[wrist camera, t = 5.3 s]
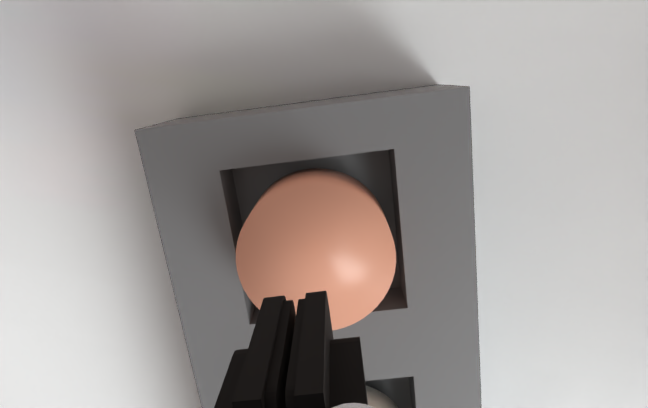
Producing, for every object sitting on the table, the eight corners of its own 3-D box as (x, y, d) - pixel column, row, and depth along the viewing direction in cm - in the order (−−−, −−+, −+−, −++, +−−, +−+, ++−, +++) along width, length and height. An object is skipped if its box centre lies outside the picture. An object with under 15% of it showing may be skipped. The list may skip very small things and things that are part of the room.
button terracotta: (380, 159, 18) (388, 173, 16) (393, 291, 20) (402, 323, 17) (237, 177, 18) (221, 193, 16) (261, 305, 20) (250, 339, 17)
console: (438, 84, 21) (469, 86, 17) (465, 567, 30) (490, 660, 25) (177, 118, 22) (134, 129, 17) (277, 581, 31) (267, 674, 26)
